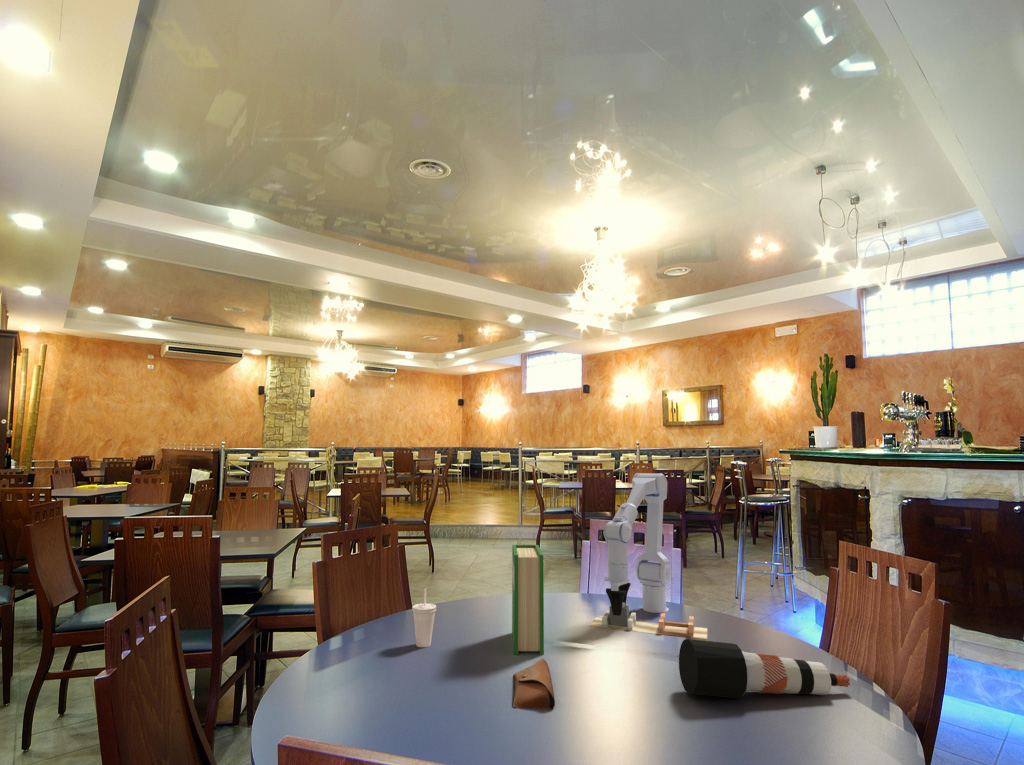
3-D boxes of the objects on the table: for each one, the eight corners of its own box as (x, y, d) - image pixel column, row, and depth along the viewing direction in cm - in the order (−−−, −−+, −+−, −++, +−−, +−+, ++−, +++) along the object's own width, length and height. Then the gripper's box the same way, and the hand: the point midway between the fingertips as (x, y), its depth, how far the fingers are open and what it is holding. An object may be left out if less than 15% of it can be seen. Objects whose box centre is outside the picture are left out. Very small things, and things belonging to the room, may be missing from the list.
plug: (611, 621, 159) (611, 600, 160) (629, 623, 158) (628, 601, 158) (609, 625, 156) (609, 603, 157) (627, 626, 154) (626, 604, 155)
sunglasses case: (511, 673, 122) (526, 646, 123) (537, 690, 122) (552, 663, 123) (512, 709, 105) (529, 677, 105) (543, 729, 104) (560, 697, 105)
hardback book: (543, 654, 135) (543, 555, 138) (514, 654, 134) (514, 555, 138) (538, 632, 152) (538, 544, 156) (512, 632, 152) (512, 544, 155)
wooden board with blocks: (595, 620, 164) (595, 606, 165) (707, 631, 153) (706, 617, 154) (588, 629, 155) (588, 615, 155) (707, 642, 144) (706, 627, 144)
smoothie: (438, 641, 144) (439, 586, 146) (432, 649, 138) (433, 592, 140) (414, 640, 145) (416, 586, 147) (407, 648, 139) (409, 591, 141)
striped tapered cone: (853, 721, 110) (870, 683, 107) (689, 705, 108) (701, 667, 105) (825, 679, 120) (840, 643, 116) (675, 664, 118) (685, 627, 115)
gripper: (608, 558, 167) (609, 604, 165) (599, 566, 154) (600, 616, 152) (631, 560, 165) (633, 606, 163) (624, 568, 151) (626, 619, 149)
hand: (619, 611), depth 157 cm, fingers open, 7 cm apart
